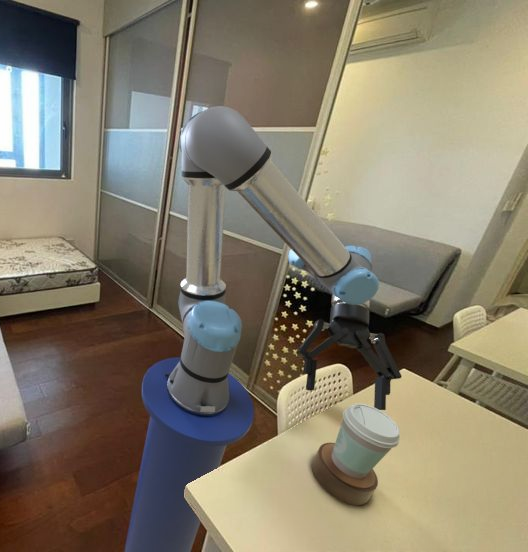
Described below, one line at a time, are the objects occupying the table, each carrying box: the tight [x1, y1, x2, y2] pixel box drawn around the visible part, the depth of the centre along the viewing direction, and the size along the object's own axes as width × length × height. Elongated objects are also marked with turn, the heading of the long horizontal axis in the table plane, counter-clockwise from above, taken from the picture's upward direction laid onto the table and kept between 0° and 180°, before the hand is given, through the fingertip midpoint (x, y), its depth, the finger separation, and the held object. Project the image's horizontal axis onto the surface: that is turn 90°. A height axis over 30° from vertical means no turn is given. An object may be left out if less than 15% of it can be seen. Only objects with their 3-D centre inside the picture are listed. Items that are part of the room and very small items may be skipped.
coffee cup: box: [332, 402, 401, 479], centre depth 59 cm, size 8×8×12 cm
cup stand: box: [311, 442, 379, 506], centre depth 63 cm, size 10×10×4 cm
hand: (344, 399), depth 69 cm, fingers open, 13 cm apart
